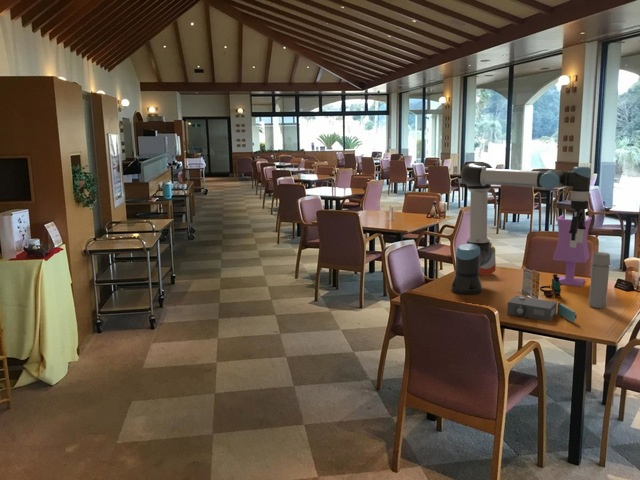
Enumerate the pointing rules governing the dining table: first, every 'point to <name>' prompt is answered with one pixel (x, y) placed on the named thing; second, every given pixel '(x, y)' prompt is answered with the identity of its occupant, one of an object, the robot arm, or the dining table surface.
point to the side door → (566, 312)
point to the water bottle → (599, 280)
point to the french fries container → (488, 265)
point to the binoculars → (553, 288)
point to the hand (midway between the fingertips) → (576, 245)
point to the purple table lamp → (571, 251)
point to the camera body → (532, 308)
